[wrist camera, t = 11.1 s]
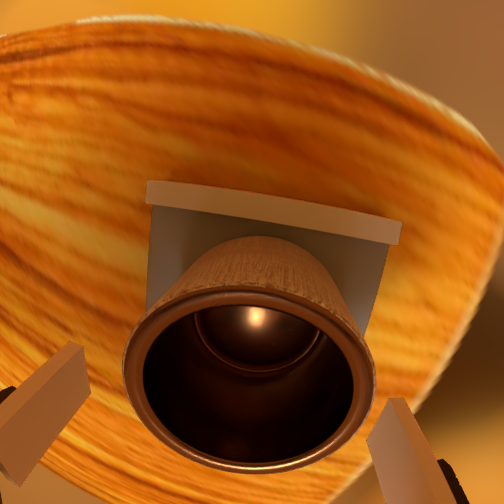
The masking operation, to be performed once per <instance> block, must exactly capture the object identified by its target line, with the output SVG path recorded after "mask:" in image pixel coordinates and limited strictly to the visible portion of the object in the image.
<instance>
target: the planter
mask: <svg viewBox="0 0 504 504" xmlns="http://www.w3.org/2000/svg"><path fill="white" fill-rule="evenodd" d="M122 375H123V382H124V387H125V390H126V393H127V396H128V399H129V401H130V403H131V405H132V407H133V409H134V411H135V412H136V414H137V416H138V417H139V419H140V420H141V421H142V423H143V424H144V425H145V426H146V427H147V429H148V430H149V431H150V432H151V433H152V434H153V435H154V436H155V437H156V438H158V439H159V440H160V441H161V442H162V443H164V444H165V445H166V446H168V447H169V448H170V449H172V450H173V451H175V452H177V453H178V454H180V455H182V456H184V457H185V458H188V459H190V460H192V461H194V462H196V463H199V464H201V465H204V466H207V467H210V468H213V469H217V470H221V471H226V472H231V473H239V474H254V475H259V474H274V473H282V472H287V471H292V470H296V469H299V468H302V467H305V466H308V465H311V464H313V463H315V462H318V461H320V460H322V459H324V458H326V457H327V456H329V455H331V454H332V453H334V452H335V451H337V450H338V449H340V448H341V447H342V446H343V445H345V444H346V443H347V442H348V441H349V440H350V439H351V438H352V437H353V436H354V435H355V434H356V433H357V431H358V430H359V429H360V428H361V426H362V425H363V423H364V422H365V420H366V418H367V416H368V414H369V412H370V410H371V407H372V404H373V401H374V397H375V391H376V371H375V366H374V362H373V359H372V356H371V353H370V350H369V348H368V346H367V344H366V342H365V340H364V338H363V336H362V334H361V332H360V330H359V328H358V326H357V325H356V323H355V321H354V319H353V317H352V315H351V313H350V311H349V309H348V307H347V305H346V303H345V302H344V300H343V298H342V296H341V294H340V292H339V290H338V288H337V286H336V284H335V282H334V280H333V279H332V277H331V275H330V274H329V272H328V271H327V269H326V268H325V267H324V266H323V265H322V263H321V262H320V261H319V260H318V259H317V258H316V257H314V256H313V255H312V254H311V253H309V252H308V251H306V250H305V249H303V248H301V247H300V246H298V245H296V244H293V243H291V242H289V241H286V240H283V239H279V238H275V237H269V236H246V237H240V238H236V239H232V240H229V241H226V242H223V243H221V244H219V245H217V246H215V247H213V248H212V249H210V250H209V251H207V252H206V253H204V254H203V255H202V256H201V257H200V258H199V259H198V260H197V261H196V262H195V263H194V264H193V265H192V266H191V267H190V268H189V269H188V270H187V271H186V272H185V273H184V274H183V275H182V276H181V277H180V278H179V279H178V280H177V281H176V282H175V283H174V284H173V286H172V287H171V288H170V289H169V290H168V291H167V292H166V293H165V294H164V295H163V296H162V297H161V298H160V299H159V300H158V301H157V302H156V303H155V304H154V305H153V306H152V307H151V308H150V309H149V310H148V311H147V312H146V313H145V314H144V315H143V317H142V318H141V319H140V320H139V321H138V323H137V324H136V326H135V327H134V329H133V330H132V332H131V334H130V336H129V338H128V340H127V343H126V346H125V349H124V353H123V360H122Z"/></svg>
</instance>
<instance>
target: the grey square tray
mask: <svg viewBox="0 0 504 504" xmlns="http://www.w3.org/2000/svg"><path fill="white" fill-rule="evenodd" d="M145 203H146V204H153V209H152V219H151V230H150V242H149V256H148V273H147V299H146V312H147V311H148V310H149V309H150V308H151V307H152V306H153V305H154V304H155V303H156V302H157V301H158V300H159V299H160V298H161V297H162V296H163V295H164V294H165V293H166V292H167V291H168V290H169V289H170V288H171V287H172V286H173V284H174V283H175V282H176V281H177V280H178V279H179V278H180V277H181V276H182V275H183V274H184V273H185V272H186V271H187V270H188V269H189V268H190V267H191V266H192V265H193V264H194V263H195V262H196V261H197V260H198V259H199V258H200V257H201V256H202V255H203V254H204V253H206V252H207V251H209V250H210V249H212V248H213V247H215V246H217V245H219V244H221V243H223V242H226V241H229V240H232V239H236V238H240V237H246V236H269V237H275V238H279V239H283V240H286V241H289V242H291V243H293V244H296V245H298V246H300V247H301V248H303V249H305V250H306V251H308V252H309V253H311V254H312V255H313V256H314V257H316V258H317V259H318V260H319V261H320V262H321V263H322V265H323V266H324V267H325V268H326V269H327V271H328V272H329V274H330V275H331V277H332V279H333V280H334V282H335V284H336V286H337V288H338V290H339V292H340V294H341V296H342V298H343V300H344V302H345V303H346V305H347V307H348V309H349V311H350V313H351V315H352V317H353V319H354V321H355V323H356V325H357V326H358V328H359V330H360V332H361V334H362V336H363V337H364V334H365V331H366V328H367V325H368V322H369V319H370V316H371V312H372V309H373V306H374V302H375V299H376V295H377V292H378V288H379V284H380V281H381V277H382V273H383V269H384V265H385V261H386V257H387V253H388V248H389V244H391V245H396V246H398V243H399V238H400V234H401V229H402V224H403V222H400V221H397V220H393V219H390V218H387V217H383V216H379V215H374V214H370V213H365V212H361V211H356V210H351V209H346V208H341V207H336V206H331V205H326V204H321V203H316V202H310V201H305V200H299V199H294V198H288V197H282V196H276V195H270V194H264V193H258V192H251V191H245V190H238V189H231V188H224V187H217V186H210V185H202V184H194V183H186V182H178V181H169V180H147V187H146V195H145Z"/></svg>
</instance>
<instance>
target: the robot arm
mask: <svg viewBox="0 0 504 504" xmlns="http://www.w3.org/2000/svg"><path fill="white" fill-rule="evenodd" d="M90 394H91V390H90V385H89V380H88V374H87V368H86V362H85V355H84V348H83V346H81V345H78V344H75V343H73V342H68V343H67V344H66V345H65V346H64V347H63V348H62V349H60V350H59V351H58V352H57V353H56V354H55V355H53V356H52V357H51V358H50V359H49V360H48V361H47V362H46V363H44V364H43V365H42V366H41V367H40V368H39V369H38V370H37V371H35V372H34V373H33V374H32V375H31V376H30V377H29V378H28V379H27V380H26V381H24V382H23V383H22V384H21V385H20V386H19V387H18V388H15V387H13V386H11V387H8V388H6V389H3V390H2V391H0V471H1V472H2V473H3V475H4V476H5V477H6V478H7V479H8V480H10V481H11V482H13V483H14V484H15V485H17V486H18V487H21V485H22V484H23V482H24V481H25V480H26V478H27V477H28V475H29V474H30V473H31V471H32V470H33V468H34V467H35V466H36V464H37V463H38V462H39V460H40V459H41V458H42V456H43V455H44V454H45V452H46V451H47V450H48V448H49V447H50V446H51V444H52V443H53V442H54V440H55V439H56V438H57V436H58V435H59V434H60V432H61V431H62V430H63V428H64V427H65V426H66V425H67V423H68V422H69V421H70V419H71V418H72V417H73V416H74V414H75V413H76V412H77V410H78V409H79V408H80V407H81V405H82V404H83V403H84V401H85V400H86V399H87V398H88V396H89V395H90ZM366 441H367V444H368V447H369V450H370V454H371V457H372V460H373V463H374V466H375V470H376V473H377V476H378V479H379V483H380V486H381V490H382V493H383V496H384V500H385V504H469V501H468V500H467V497H466V495H465V494H464V491H463V489H462V487H461V485H459V481H458V479H457V478H456V475H455V473H454V471H453V469H452V467H451V466H450V465H449V464H448V463H447V462H446V461H445V460H444V459H440V460H436V458H435V456H434V454H433V452H432V450H431V448H430V446H429V444H428V442H427V440H426V439H425V437H424V435H423V433H422V431H421V429H420V427H419V425H418V423H417V421H416V420H415V418H414V416H413V414H412V412H411V410H410V408H409V407H408V405H407V403H406V401H405V399H404V398H389V399H388V401H387V403H386V405H385V407H384V409H383V411H382V413H381V415H380V416H379V418H378V420H377V422H376V424H375V426H374V427H373V429H372V431H371V433H370V434H369V436H368V438H367V440H366ZM0 504H2V499H1V493H0Z"/></svg>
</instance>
